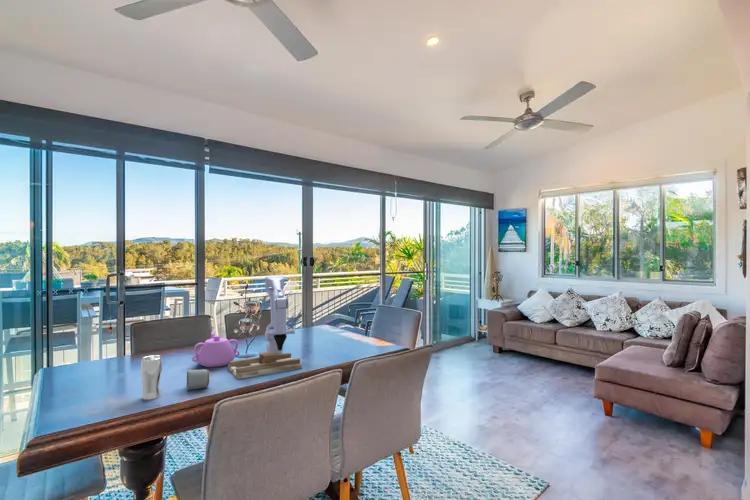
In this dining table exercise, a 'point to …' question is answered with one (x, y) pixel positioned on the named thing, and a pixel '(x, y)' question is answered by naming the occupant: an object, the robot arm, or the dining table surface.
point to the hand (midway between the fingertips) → (279, 349)
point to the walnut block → (267, 357)
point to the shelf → (263, 366)
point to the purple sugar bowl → (215, 351)
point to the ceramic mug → (197, 379)
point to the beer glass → (151, 376)
